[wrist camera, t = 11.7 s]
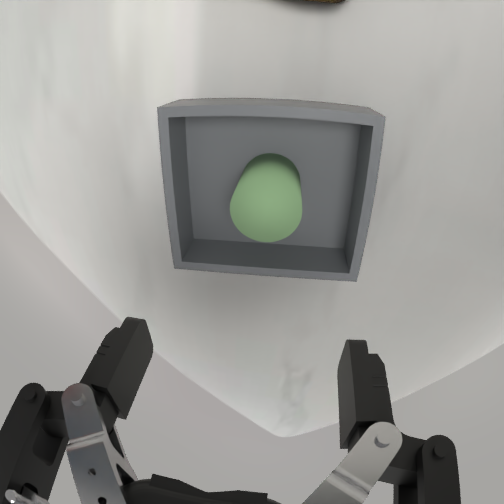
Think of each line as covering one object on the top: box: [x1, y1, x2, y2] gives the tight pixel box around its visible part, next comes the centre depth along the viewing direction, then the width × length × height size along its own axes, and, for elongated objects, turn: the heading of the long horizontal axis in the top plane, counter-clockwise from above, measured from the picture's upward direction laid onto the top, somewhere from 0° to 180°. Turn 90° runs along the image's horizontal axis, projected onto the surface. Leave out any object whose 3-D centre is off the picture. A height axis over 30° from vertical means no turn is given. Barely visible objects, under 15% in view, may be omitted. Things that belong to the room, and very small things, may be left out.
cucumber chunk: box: [230, 153, 302, 242], centre depth 25 cm, size 5×5×6 cm
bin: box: [157, 98, 385, 282], centre depth 26 cm, size 16×14×5 cm
